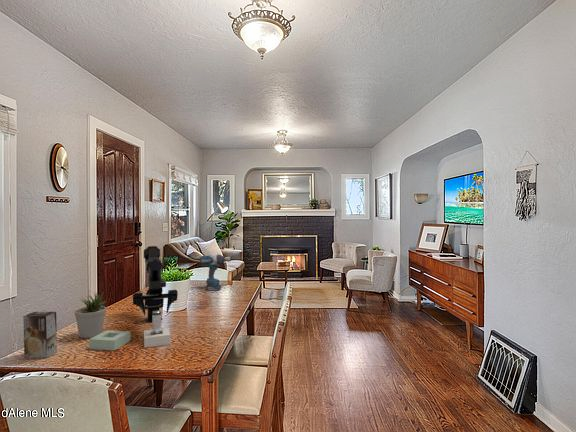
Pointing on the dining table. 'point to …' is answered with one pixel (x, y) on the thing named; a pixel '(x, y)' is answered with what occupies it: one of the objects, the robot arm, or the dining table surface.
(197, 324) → the dining table surface
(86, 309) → the potted plant
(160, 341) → the socket block
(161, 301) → the robot arm
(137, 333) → the dining table surface
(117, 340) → the block
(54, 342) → the coffee box
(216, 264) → the impact wrench
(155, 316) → the metal cylinder
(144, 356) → the dining table surface
